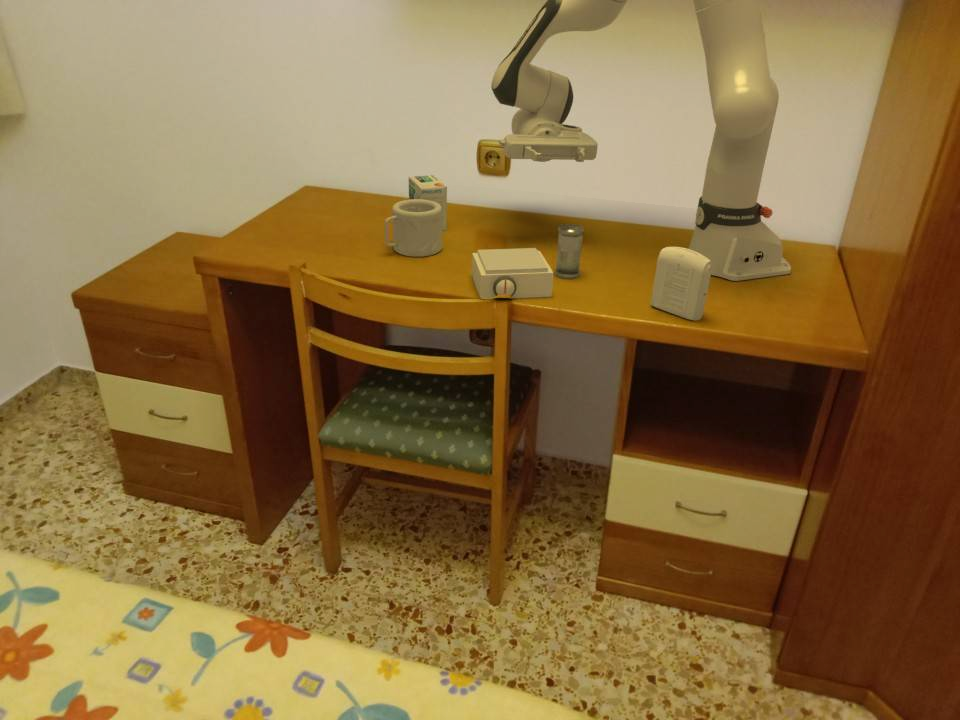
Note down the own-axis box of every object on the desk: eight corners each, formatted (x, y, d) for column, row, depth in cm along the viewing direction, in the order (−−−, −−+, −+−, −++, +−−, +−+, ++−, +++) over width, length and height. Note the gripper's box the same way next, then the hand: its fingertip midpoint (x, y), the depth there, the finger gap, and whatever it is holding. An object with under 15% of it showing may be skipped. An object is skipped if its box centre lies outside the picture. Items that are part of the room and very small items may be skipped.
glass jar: (576, 269, 159) (580, 223, 154) (582, 278, 155) (587, 232, 150) (552, 269, 158) (555, 224, 154) (558, 279, 154) (561, 232, 149)
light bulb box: (408, 219, 185) (407, 176, 180) (434, 217, 188) (434, 174, 182) (420, 233, 177) (420, 188, 172) (447, 230, 179) (448, 186, 174)
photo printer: (706, 316, 140) (718, 254, 134) (695, 323, 137) (706, 260, 131) (658, 300, 146) (667, 239, 140) (646, 306, 143) (655, 245, 137)
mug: (425, 237, 174) (424, 195, 169) (451, 251, 167) (451, 208, 162) (373, 248, 167) (371, 205, 162) (398, 264, 159) (397, 218, 155)
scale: (538, 273, 157) (539, 246, 154) (553, 298, 145) (555, 270, 142) (471, 275, 154) (472, 249, 152) (481, 301, 143) (482, 273, 140)
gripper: (498, 125, 164) (512, 141, 153) (587, 127, 168) (607, 143, 157) (496, 153, 167) (509, 172, 156) (583, 155, 171) (603, 173, 160)
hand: (559, 157), depth 156 cm, fingers open, 8 cm apart
